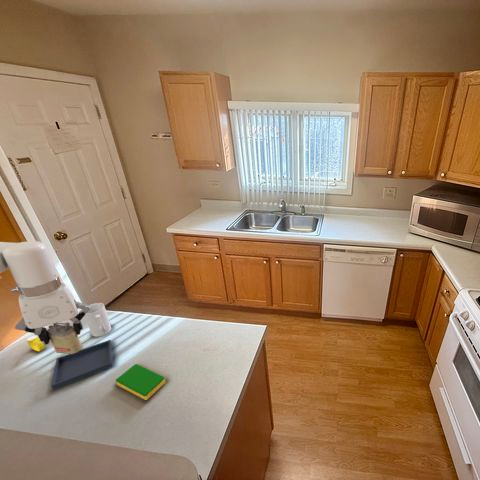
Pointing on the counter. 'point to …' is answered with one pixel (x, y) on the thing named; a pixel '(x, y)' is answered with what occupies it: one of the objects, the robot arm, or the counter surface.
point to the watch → (35, 343)
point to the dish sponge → (140, 381)
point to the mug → (97, 320)
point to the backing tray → (82, 364)
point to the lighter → (64, 338)
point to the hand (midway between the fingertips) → (63, 336)
